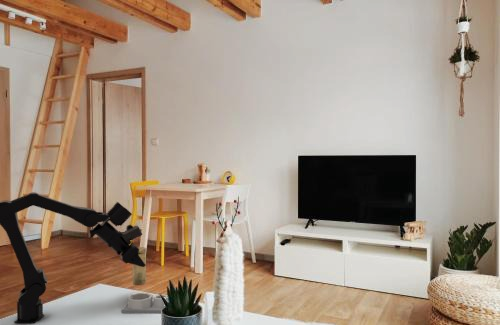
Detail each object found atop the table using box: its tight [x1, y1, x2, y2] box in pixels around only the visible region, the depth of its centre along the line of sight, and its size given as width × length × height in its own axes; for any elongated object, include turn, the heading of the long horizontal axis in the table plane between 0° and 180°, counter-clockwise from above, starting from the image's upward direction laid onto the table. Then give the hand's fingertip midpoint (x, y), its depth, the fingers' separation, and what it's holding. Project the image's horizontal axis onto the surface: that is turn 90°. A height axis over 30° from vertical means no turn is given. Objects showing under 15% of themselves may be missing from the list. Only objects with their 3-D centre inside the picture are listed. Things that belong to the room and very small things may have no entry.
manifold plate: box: [121, 292, 169, 314], centre depth 144 cm, size 16×9×4 cm, turn 89°
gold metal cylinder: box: [132, 246, 147, 286], centre depth 150 cm, size 5×5×12 cm
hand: (143, 264), depth 151 cm, fingers closed on gold metal cylinder, 4 cm apart
